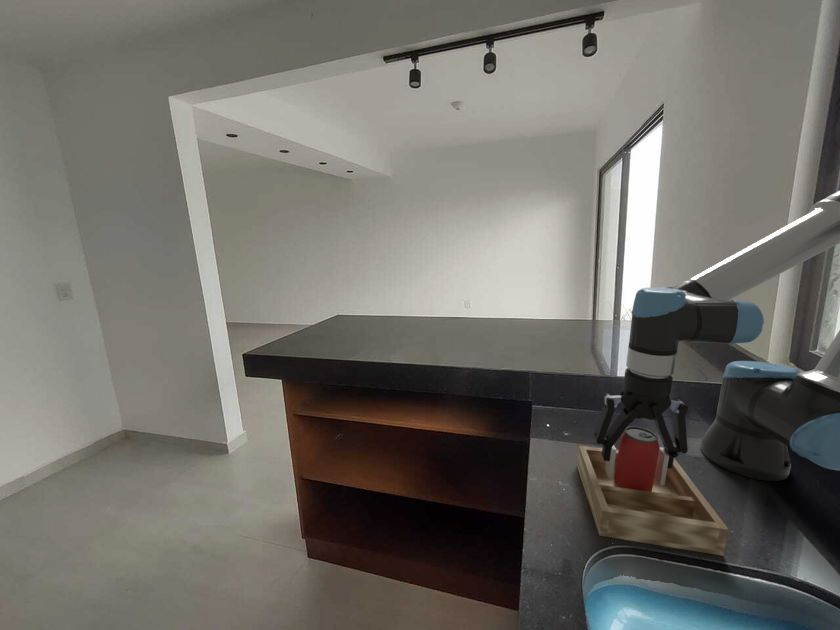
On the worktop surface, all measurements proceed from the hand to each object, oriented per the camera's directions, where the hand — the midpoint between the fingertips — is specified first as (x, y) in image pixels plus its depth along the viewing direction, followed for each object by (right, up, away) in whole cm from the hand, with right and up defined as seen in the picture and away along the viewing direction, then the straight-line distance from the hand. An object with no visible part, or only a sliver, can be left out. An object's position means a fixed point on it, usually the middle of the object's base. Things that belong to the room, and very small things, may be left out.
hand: (633, 477), depth 71 cm
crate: (-1, -4, -3) cm, 5 cm away
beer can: (0, -2, +1) cm, 2 cm away
